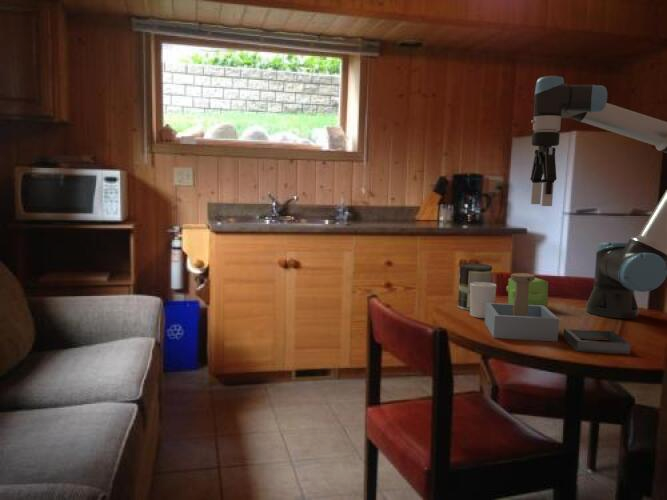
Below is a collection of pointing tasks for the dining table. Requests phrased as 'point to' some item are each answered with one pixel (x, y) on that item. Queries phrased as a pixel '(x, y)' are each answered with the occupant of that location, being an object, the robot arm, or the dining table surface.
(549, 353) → the dining table surface
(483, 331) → the dining table surface
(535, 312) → the bin
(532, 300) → the gearbox
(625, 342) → the flat grey tray
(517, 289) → the handle
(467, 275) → the coffee can
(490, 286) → the white cup
